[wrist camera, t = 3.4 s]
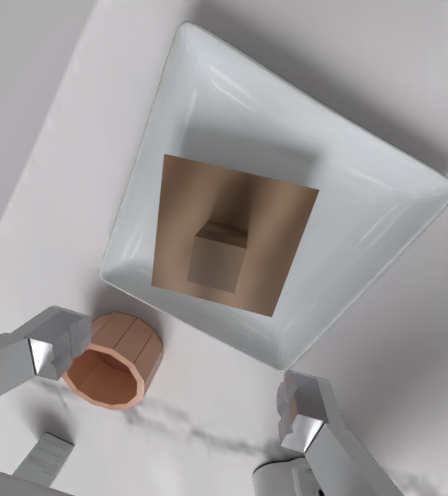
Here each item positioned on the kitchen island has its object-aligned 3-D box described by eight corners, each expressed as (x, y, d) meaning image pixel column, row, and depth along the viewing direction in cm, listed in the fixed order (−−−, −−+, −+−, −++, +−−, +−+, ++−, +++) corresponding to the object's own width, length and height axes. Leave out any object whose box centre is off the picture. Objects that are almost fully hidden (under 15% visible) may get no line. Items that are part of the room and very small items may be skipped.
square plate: (281, 354, 31) (285, 379, 27) (112, 265, 30) (93, 279, 26) (437, 185, 21) (475, 189, 17) (192, 36, 19) (178, 7, 16)
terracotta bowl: (165, 324, 31) (146, 358, 26) (159, 379, 36) (142, 418, 30) (89, 304, 32) (55, 333, 27) (92, 361, 37) (63, 395, 31)
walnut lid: (317, 189, 19) (341, 197, 14) (271, 312, 24) (276, 354, 19) (167, 154, 20) (134, 149, 14) (154, 282, 25) (126, 313, 20)
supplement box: (39, 445, 50) (-26, 530, 38) (46, 430, 47) (-23, 518, 35) (68, 459, 50) (12, 547, 39) (76, 445, 48) (18, 536, 36)
